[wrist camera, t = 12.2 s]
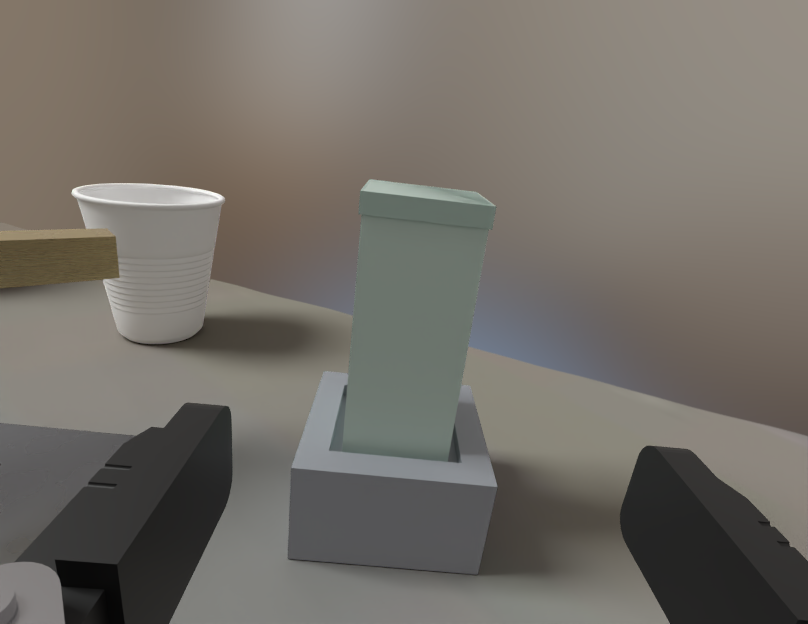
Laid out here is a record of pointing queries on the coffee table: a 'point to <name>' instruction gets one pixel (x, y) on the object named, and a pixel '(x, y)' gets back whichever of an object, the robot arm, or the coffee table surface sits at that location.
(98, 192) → the cup
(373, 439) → the cover
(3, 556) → the plate
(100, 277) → the brown piece
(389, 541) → the housing
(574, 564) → the coffee table surface
